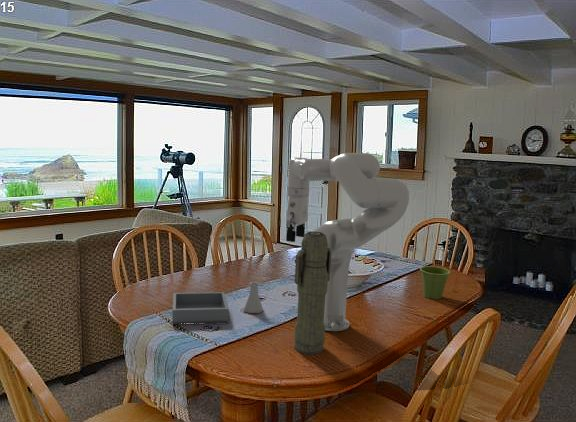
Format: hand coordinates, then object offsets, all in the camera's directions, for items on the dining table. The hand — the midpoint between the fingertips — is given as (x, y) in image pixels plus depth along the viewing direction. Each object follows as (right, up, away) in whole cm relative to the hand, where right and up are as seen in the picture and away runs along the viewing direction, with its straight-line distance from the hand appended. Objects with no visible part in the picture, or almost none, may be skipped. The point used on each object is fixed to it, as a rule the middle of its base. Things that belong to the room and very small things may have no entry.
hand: (295, 238), depth 190 cm
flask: (-15, -26, -4) cm, 30 cm away
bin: (-33, -25, -10) cm, 43 cm away
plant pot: (+56, -25, +22) cm, 65 cm away
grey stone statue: (+3, -31, -34) cm, 46 cm away
